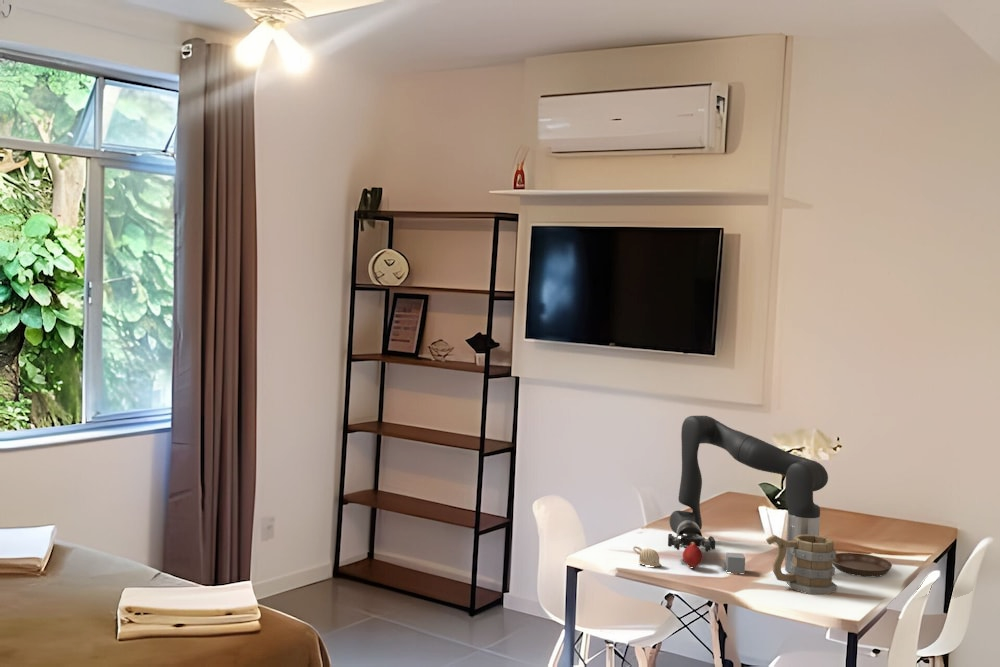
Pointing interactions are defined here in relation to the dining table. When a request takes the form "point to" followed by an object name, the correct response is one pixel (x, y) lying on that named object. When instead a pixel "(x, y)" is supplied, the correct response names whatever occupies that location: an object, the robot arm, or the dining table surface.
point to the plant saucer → (861, 564)
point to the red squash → (692, 555)
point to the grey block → (735, 562)
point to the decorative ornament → (648, 557)
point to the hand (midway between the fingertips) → (692, 547)
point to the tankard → (807, 563)
